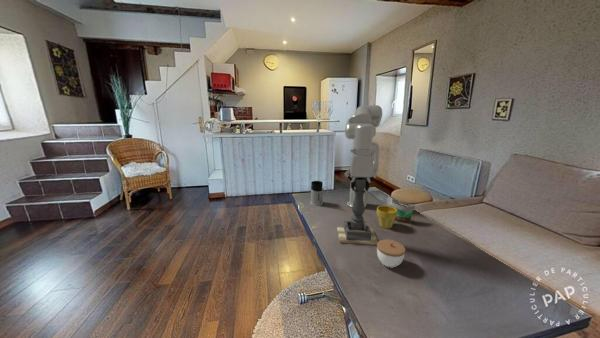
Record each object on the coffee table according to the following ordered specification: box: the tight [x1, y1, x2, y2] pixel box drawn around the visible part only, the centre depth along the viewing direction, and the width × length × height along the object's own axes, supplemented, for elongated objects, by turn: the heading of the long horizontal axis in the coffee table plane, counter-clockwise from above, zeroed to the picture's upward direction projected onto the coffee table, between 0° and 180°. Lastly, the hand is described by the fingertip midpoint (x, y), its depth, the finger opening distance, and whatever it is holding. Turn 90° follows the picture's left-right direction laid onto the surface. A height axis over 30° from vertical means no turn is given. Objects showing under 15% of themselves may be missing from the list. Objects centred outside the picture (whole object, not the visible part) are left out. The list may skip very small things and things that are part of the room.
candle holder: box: [350, 177, 367, 230], centre depth 109 cm, size 6×6×25 cm
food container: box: [391, 201, 416, 224], centre depth 129 cm, size 12×6×10 cm, turn 68°
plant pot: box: [376, 205, 397, 229], centre depth 124 cm, size 10×10×10 cm
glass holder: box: [309, 180, 329, 207], centre depth 152 cm, size 9×14×15 cm, turn 43°
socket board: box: [336, 220, 379, 245], centre depth 113 cm, size 13×18×6 cm
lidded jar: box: [376, 239, 406, 269], centre depth 93 cm, size 11×11×9 cm
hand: (359, 189), depth 108 cm, fingers closed on candle holder, 5 cm apart
